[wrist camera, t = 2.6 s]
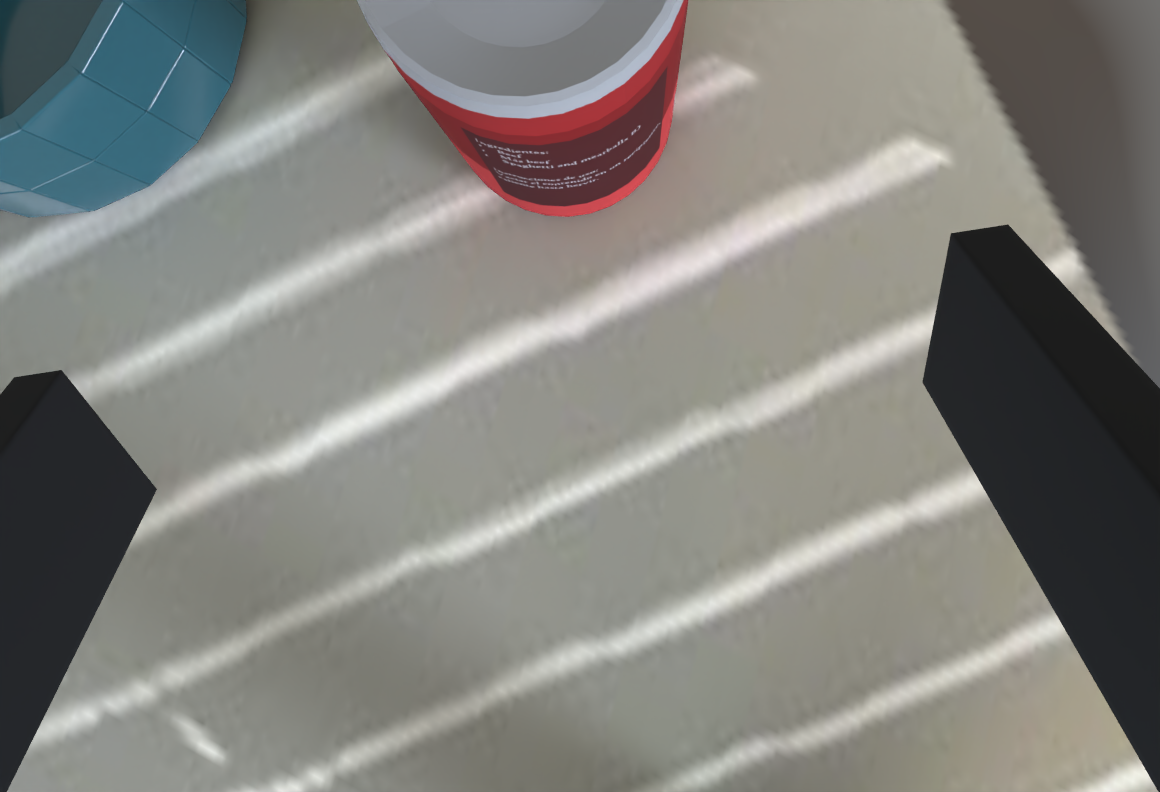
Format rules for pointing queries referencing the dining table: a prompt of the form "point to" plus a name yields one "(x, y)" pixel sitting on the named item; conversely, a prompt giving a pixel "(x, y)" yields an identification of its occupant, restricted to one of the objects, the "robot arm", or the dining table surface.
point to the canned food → (543, 89)
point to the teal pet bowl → (106, 94)
